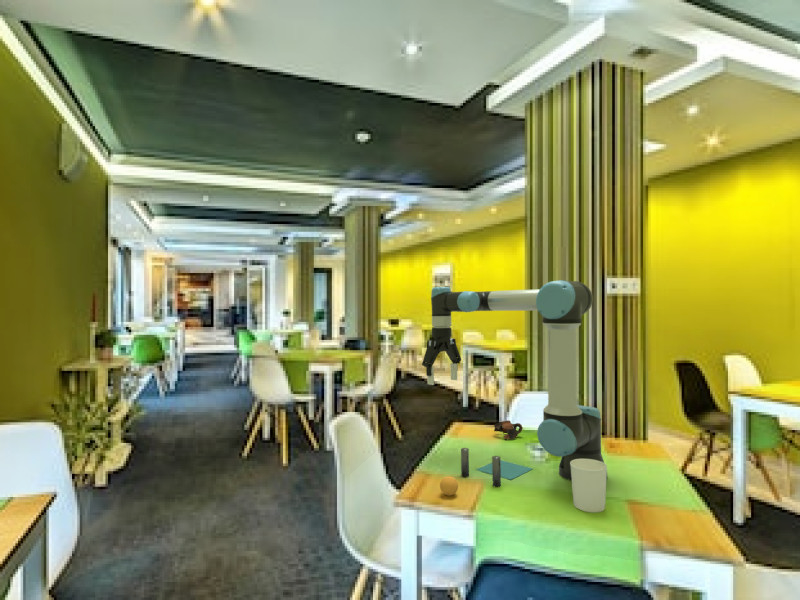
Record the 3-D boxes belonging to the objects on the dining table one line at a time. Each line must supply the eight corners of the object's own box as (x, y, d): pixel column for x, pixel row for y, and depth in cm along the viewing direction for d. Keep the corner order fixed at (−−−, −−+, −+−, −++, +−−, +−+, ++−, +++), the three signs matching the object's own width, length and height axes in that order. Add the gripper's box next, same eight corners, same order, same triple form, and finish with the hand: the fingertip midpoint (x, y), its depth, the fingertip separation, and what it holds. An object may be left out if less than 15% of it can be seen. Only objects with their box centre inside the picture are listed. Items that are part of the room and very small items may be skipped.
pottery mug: (498, 442, 201) (492, 423, 205) (498, 446, 209) (492, 427, 213) (526, 434, 200) (519, 415, 204) (524, 439, 209) (518, 420, 213)
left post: (470, 475, 162) (470, 449, 162) (465, 477, 160) (465, 450, 160) (464, 473, 163) (464, 447, 164) (459, 475, 162) (459, 449, 162)
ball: (461, 494, 146) (461, 476, 146) (450, 500, 142) (450, 481, 142) (448, 489, 150) (447, 472, 150) (436, 495, 146) (436, 477, 146)
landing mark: (533, 469, 167) (533, 468, 167) (510, 480, 157) (510, 479, 157) (499, 460, 177) (499, 459, 177) (476, 469, 167) (476, 469, 167)
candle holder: (566, 499, 141) (565, 458, 141) (599, 499, 141) (599, 458, 141) (577, 514, 132) (576, 470, 132) (613, 513, 131) (612, 470, 131)
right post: (502, 485, 153) (502, 457, 153) (497, 487, 151) (497, 459, 151) (495, 483, 154) (495, 455, 154) (491, 485, 153) (490, 457, 153)
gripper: (454, 325, 197) (455, 377, 197) (412, 328, 179) (413, 385, 179) (469, 325, 191) (470, 379, 191) (426, 329, 174) (427, 387, 174)
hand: (442, 382), depth 185 cm, fingers open, 13 cm apart
